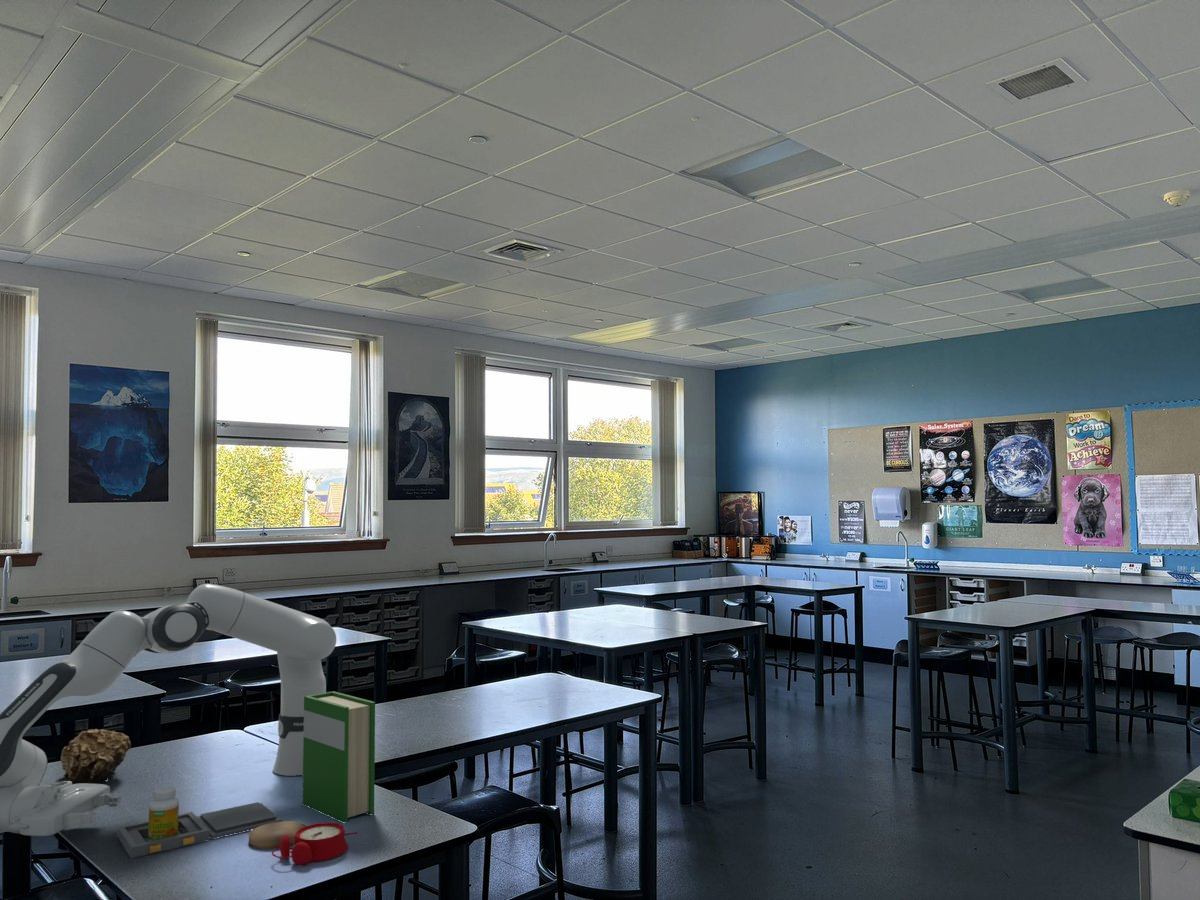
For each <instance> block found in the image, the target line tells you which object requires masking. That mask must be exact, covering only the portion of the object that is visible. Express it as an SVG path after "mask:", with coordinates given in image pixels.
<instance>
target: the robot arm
mask: <svg viewBox="0 0 1200 900" xmlns="http://www.w3.org/2000/svg"><path fill="white" fill-rule="evenodd" d="M206 630H208V631H213V632H217V633H220V634H222V635H225V636H229V637H232V638H233V639H237V640H240V641H243V642H247V643H250V644H254V645H256V646H259V647H263V648H265V649H268V650H271V651H274V652H276V655H277V663H278V670H279V677H280V713H279V714H278V722H277V725H278V726H277V732H278V737H279V738H278V747H277V751H276V758H275V762H274V766H273V768H272V772H273V773H274V774H276V775H281V776H287V777H288V776H290V777H291V776H292V777H295V776H296V775H303V739H304V696H310V695H315V694H321V693H327V679H326V676H325V673H324V669H323V665H322V664H323V663H322V660H324V659H326V658H327V657H329V656H330V655H331V654H332V653H333V651H334V650H335V647H336V644H337V635H336V632H335V630H334V628H333V627H332V626H331V624H330V623H329V622H327V621H326V620H325V619H323V618H320V617H317V616H314V615H312V614H308V613H306V612H303V611H299V610H297V609H293V608H291V607H290V608H289V607H288V606H284V605H282V604H279V603H277V602H276V603H275V602H273V601H270V600H267V599H265V598H261V597H258V596H256V595H253V594H250V593H248V592H244V591H242V590H240V589H239V590H238V589H236V588H232V587H228V586H223V585H218V584H212V583H204V584H200V585H198V586H196V587H195V588H194V589H193V590H191V592H190V593H189V596H188V597H187V600H186V601H185V602H183V603H176V604H171V605H165V606H162V607H160V608H159V607H158V608H157V609H156V610H153V611H150V612H148V613H145V614H143V615H142V616H139V615H138V614H136V613H134V612H132V611H129V610H123V609H121V610H116V611H115V610H114V611H113V612H110V613H109V615H107V616H106V617H105V618H104V619H102V620H101V621H100V622H99V623H98V624H97V625H96V626H95V627H94V628H93V629H92V630H91V631H90V632H89V633H88V634H87V635H86V636H85V638H84V639H83V640H82V641H81V642H80V644H79V645H77V647H76V648H75V649H74V650H73V651H72V652H71V653H70V654H69V655H68V656H67V657H66V658H64V659H63V660H62V661H60V662H58V663H55V664H53V665H51V666H50V667H48V668H47V669H46V670H45V671H43V672H42V673H41V674H39V676H38V677H37V678H36V679H35V680H34V681H31V683H30V684H29V685H28V686H27V687H26V688H25V689H24V690H23V691H22V692H21V693H20V694H19V695H18V696H17V697H16V698H15V699H14V700H13V701H11V703H10V704H9V705H8V706H7V707H6V708H5V709H4V710H3V711H2V712H0V834H2V833H5V832H9V833H13V834H20V835H22V836H32V837H48V836H53V835H55V834H57V833H59V832H60V831H62V830H64V829H66V828H68V827H71V826H76V825H77V826H78V825H80V824H89V823H92V822H93V821H94V820H95V819H96V818H95V815H96V814H95V811H96V810H98V809H100V808H102V807H104V806H108V807H109V808H110V807H111V808H112V807H116V808H117V807H118V806H120V805H121V804H122V796H121V795H113V794H111V787H110V786H109V785H108V784H104V783H103V784H102V783H97V784H87V783H80V784H73V785H72V781H69V780H64V781H59V782H55V783H52V784H50V785H49V784H48V785H40V784H41V783H42V780H43V778H44V775H45V773H46V771H47V767H48V757H47V755H46V752H45V751H44V750H43V749H41V748H40V747H38V746H36V745H34V744H33V743H31V742H29V741H28V740H25V739H23V737H24V735H25V734H26V732H27V731H28V730H29V729H30V728H31V727H32V726H33V725H34V724H35V722H37V720H39V719H40V718H41V716H43V714H44V713H46V711H47V710H49V709H50V707H51V706H52V705H53V704H55V703H56V702H58V701H59V700H61V699H64V698H68V697H78V696H79V697H90V696H91V697H92V696H94V695H95V696H96V695H99V694H101V693H103V692H105V691H107V690H108V689H110V687H111V686H112V685H114V683H115V682H116V681H117V680H118V679H119V678H120V676H121V675H122V674H123V673H124V671H125V670H126V668H127V667H128V666H129V664H130V663H131V662H132V660H133V659H134V658H135V657H136V656H137V655H138V654H139V653H140V652H142V651H147V652H150V653H154V654H173V653H177V652H180V651H184V650H187V649H189V648H190V647H191V646H193V645H194V644H195V643H196V642H197V641H198V640H199V638H200V637H201V635H202V634H203V633H204V632H205V631H206Z"/></svg>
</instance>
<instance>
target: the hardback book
mask: <svg viewBox="0 0 1200 900" xmlns="http://www.w3.org/2000/svg"><path fill="white" fill-rule="evenodd" d="M375 744H376V702H375V701H372V700H368V699H365V698H361V697H357V696H353V695H350V694H346V693H342V692H337V691H334V690H333V691H326V693H321V694H315V695H310V696H304V739H303V776H302V804H304V805H306V806H309V807H310V808H309V807H308V808H309V809H311V808H313V809H315V810H317V811H320V812H322V813H324V814H326V815H329V816H331V817H333V818H335V819H337V820H340V821H342V822H347V823H348V818H351V817H355V816H358V815H359V816H360V815H362V814H366V813H368V814H373V815H375V775H376V773H375V769H376V768H375V766H376V765H375V764H376V763H375V761H376V760H375V759H376V758H375V757H376V756H375V754H376V751H375V750H376V745H375ZM304 805H303V806H304ZM306 806H305V807H306ZM313 809H312V810H313ZM315 810H314V811H315ZM317 811H316V812H317ZM320 812H319V813H320ZM322 813H321V814H322ZM324 814H323V815H324ZM368 814H367V815H368ZM326 815H325V816H326ZM331 817H330V818H331ZM333 818H332V819H333ZM335 819H334V820H335ZM337 820H336V821H337Z"/></svg>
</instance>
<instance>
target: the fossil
mask: <svg viewBox="0 0 1200 900" xmlns="http://www.w3.org/2000/svg"><path fill="white" fill-rule="evenodd" d="M131 746H132V744H131V740H130V737H129V735H126V733H125V734H124V733H123V732H116V731H115V730H112V731H111V730H107V729H104V728H102V729H98V728H95V729H93V728H91V729H88V730H81V732H79V733H78V735H77V736H75V737H74V738H73V739H72V740H69V742H68V745H67V746H64V747H63V748H62V750H61V755H60V762H61V768H62V770H63V771H64V774H63V776H64V777H66V776H67V777H68V778H69V780H68V781H72V785H73V784H80V783H87V784H99V783H107V782H106V781H105V780H107V778H109V776H110V775H111V774H112V773H114V772H116V771H117V769H118V767H119V766H120V765H121V764H122V762H124V760H125V758H126V756H127V753H128V751H129V750H130V749H131ZM67 777H66V778H67ZM68 778H67V779H68Z"/></svg>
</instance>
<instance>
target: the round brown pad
mask: <svg viewBox="0 0 1200 900" xmlns="http://www.w3.org/2000/svg"><path fill="white" fill-rule="evenodd" d="M306 826H307V824H305V823H304V822H301V821H294V820H284V821H283V820H282V821H281V822H274V823H269V824H265V825H262V826H259V827H257V828H255V829H253V830H252V831H249V832H248V845H249V844H250V845H251V846H250V845H249V846H250V847H252V848H254V847H255V849H259V848H260V849H259V850H274V849H273V848H276V849H278V848H277V847H279V846H280V841H281V838H282V837H283V836H284V835H287V834H288V836H289V841H290V845H291V846H294V845H295V835H296V832H297V831H298V830H300V829H301V828H303V827H306ZM293 844H294V845H293Z"/></svg>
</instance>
